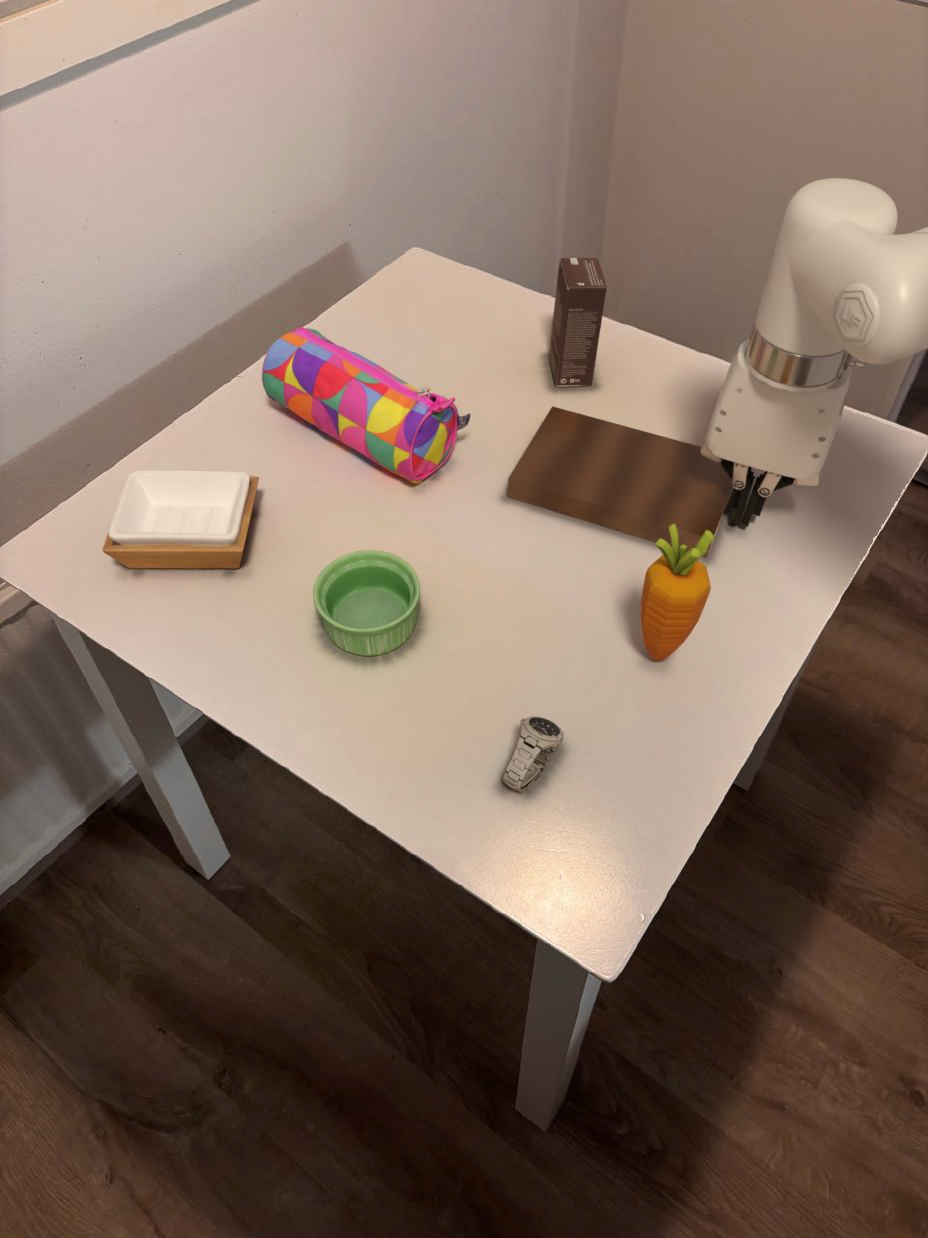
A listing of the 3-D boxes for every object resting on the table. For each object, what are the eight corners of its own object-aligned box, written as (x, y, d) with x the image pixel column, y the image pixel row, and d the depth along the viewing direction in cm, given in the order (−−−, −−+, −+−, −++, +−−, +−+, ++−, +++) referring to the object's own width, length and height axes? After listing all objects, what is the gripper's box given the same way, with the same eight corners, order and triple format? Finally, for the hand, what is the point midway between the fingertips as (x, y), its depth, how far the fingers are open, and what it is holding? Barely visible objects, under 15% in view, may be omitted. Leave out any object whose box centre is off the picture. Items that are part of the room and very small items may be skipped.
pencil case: (476, 451, 92) (477, 378, 85) (419, 503, 88) (415, 430, 81) (320, 375, 101) (309, 302, 93) (260, 418, 96) (244, 345, 89)
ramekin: (355, 569, 82) (350, 536, 79) (441, 605, 80) (439, 572, 76) (299, 637, 77) (291, 605, 74) (388, 678, 75) (384, 646, 71)
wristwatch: (570, 751, 70) (575, 716, 66) (527, 810, 67) (531, 777, 63) (532, 729, 72) (535, 694, 68) (488, 786, 68) (489, 752, 65)
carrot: (620, 671, 75) (648, 548, 63) (635, 628, 78) (665, 503, 66) (678, 690, 74) (717, 568, 62) (692, 645, 77) (732, 521, 65)
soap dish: (114, 578, 82) (96, 540, 78) (139, 503, 88) (123, 464, 84) (251, 578, 82) (240, 540, 78) (266, 503, 88) (256, 464, 84)
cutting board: (737, 477, 90) (743, 458, 88) (706, 557, 83) (712, 539, 81) (550, 424, 95) (552, 405, 93) (507, 497, 88) (508, 478, 86)
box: (594, 386, 99) (608, 286, 90) (554, 388, 99) (563, 288, 89) (586, 353, 103) (599, 255, 93) (547, 355, 103) (556, 256, 93)
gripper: (901, 345, 71) (830, 512, 85) (716, 303, 75) (677, 469, 89) (888, 399, 67) (815, 565, 81) (692, 352, 71) (655, 518, 85)
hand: (743, 514), depth 85 cm, fingers closed
